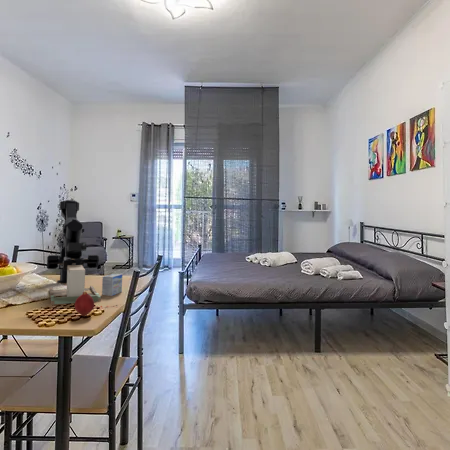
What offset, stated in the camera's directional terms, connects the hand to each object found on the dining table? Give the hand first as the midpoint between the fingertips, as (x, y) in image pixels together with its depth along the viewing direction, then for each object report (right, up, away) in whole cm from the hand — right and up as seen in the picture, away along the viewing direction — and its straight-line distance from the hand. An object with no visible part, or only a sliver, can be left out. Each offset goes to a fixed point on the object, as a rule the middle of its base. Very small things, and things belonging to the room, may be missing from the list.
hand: (74, 279), depth 134 cm
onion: (+13, -9, -22) cm, 27 cm away
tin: (+3, -6, -5) cm, 8 cm away
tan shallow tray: (+1, -7, -2) cm, 7 cm away
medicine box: (+13, -8, +5) cm, 16 cm away
